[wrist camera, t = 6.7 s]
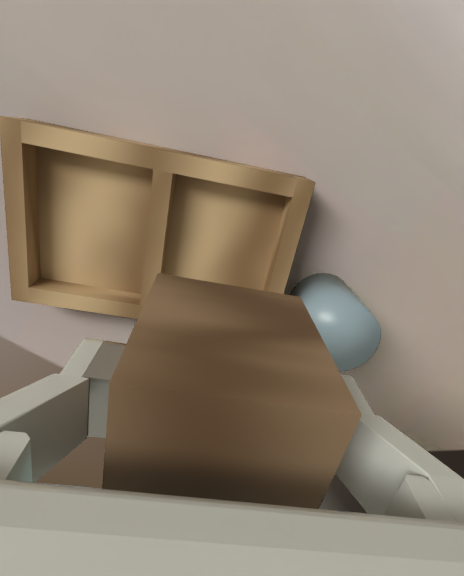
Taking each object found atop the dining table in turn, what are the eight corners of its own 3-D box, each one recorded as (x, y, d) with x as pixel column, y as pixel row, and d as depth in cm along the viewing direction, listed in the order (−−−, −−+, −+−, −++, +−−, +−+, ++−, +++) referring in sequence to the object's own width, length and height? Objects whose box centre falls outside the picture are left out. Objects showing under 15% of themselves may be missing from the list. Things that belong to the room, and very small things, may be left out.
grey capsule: (358, 279, 23) (392, 313, 19) (338, 332, 25) (365, 376, 21) (298, 268, 23) (318, 301, 18) (281, 323, 25) (295, 366, 20)
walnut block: (300, 297, 11) (361, 414, 6) (267, 405, 12) (295, 559, 8) (157, 273, 10) (109, 382, 6) (143, 389, 12) (98, 544, 7)
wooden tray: (304, 177, 20) (315, 182, 18) (265, 318, 24) (270, 339, 22) (27, 118, 19) (-2, 115, 16) (34, 282, 23) (11, 299, 20)
